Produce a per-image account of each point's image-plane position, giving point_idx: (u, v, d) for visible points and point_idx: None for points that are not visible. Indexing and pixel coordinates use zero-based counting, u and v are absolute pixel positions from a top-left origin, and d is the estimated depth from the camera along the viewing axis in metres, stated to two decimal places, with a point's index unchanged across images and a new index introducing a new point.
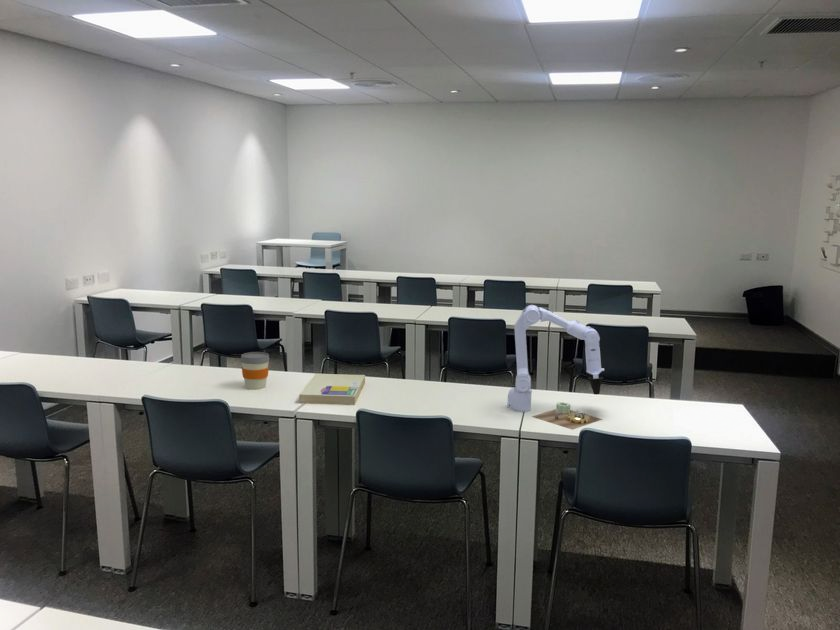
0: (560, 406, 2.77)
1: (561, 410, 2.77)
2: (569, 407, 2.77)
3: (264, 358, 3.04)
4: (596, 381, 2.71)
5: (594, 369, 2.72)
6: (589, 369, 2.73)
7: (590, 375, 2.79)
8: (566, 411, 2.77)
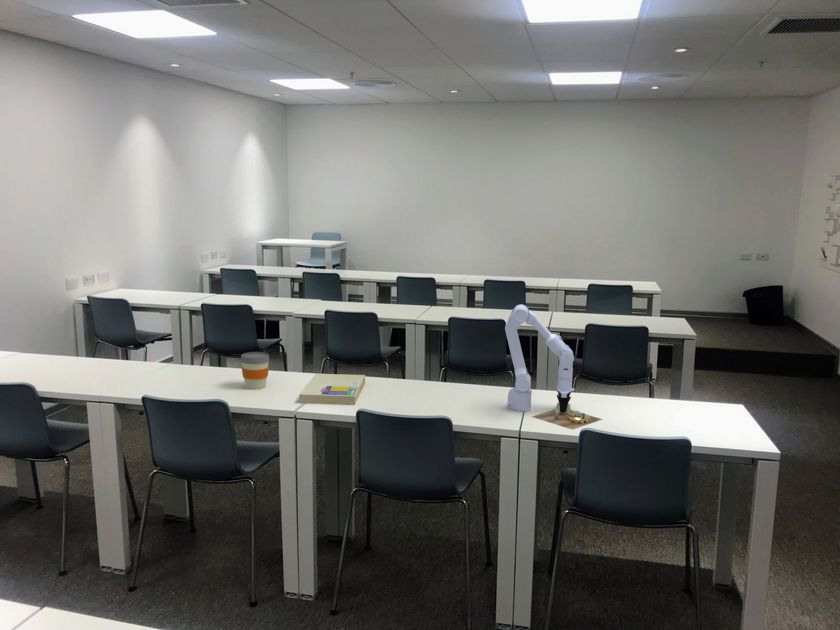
0: None
1: None
2: (569, 407, 2.77)
3: (264, 358, 3.04)
4: (564, 400, 2.74)
5: (564, 388, 2.74)
6: (559, 387, 2.76)
7: (560, 394, 2.81)
8: (566, 411, 2.77)
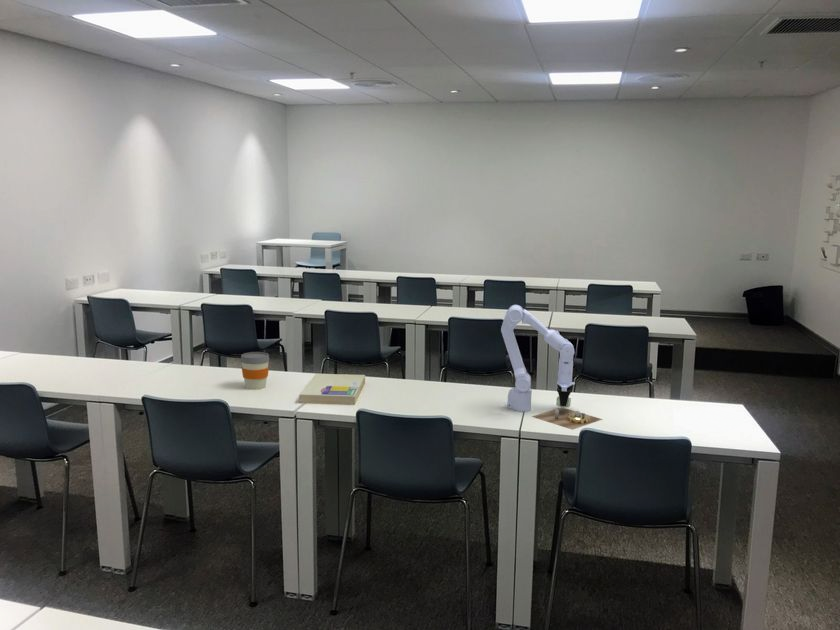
0: None
1: None
2: (569, 401, 2.76)
3: (264, 358, 3.04)
4: (564, 393, 2.74)
5: (564, 382, 2.74)
6: (559, 381, 2.75)
7: (560, 387, 2.81)
8: (566, 405, 2.76)
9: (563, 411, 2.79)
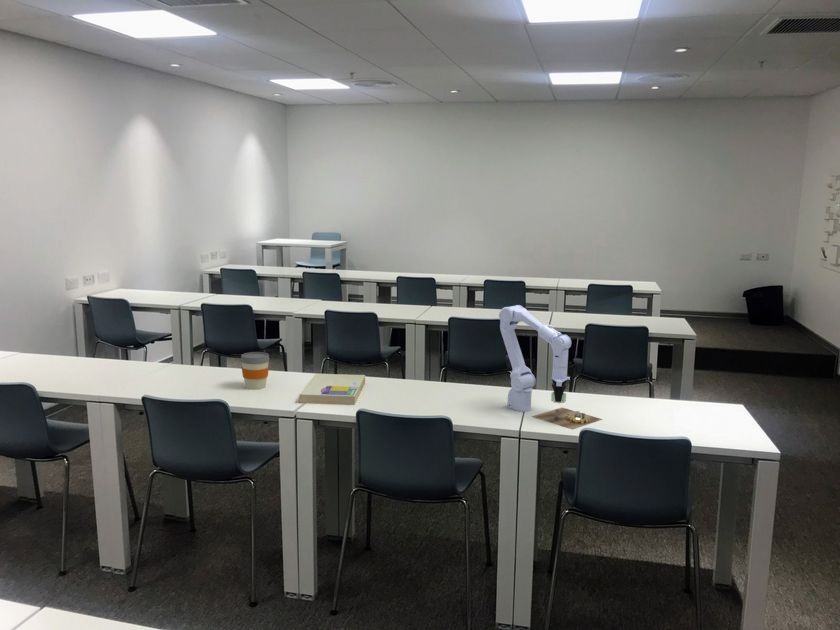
0: None
1: None
2: (565, 396, 2.67)
3: (264, 358, 3.04)
4: (559, 388, 2.65)
5: (559, 376, 2.65)
6: (554, 376, 2.66)
7: (555, 382, 2.71)
8: (561, 400, 2.67)
9: (563, 411, 2.79)
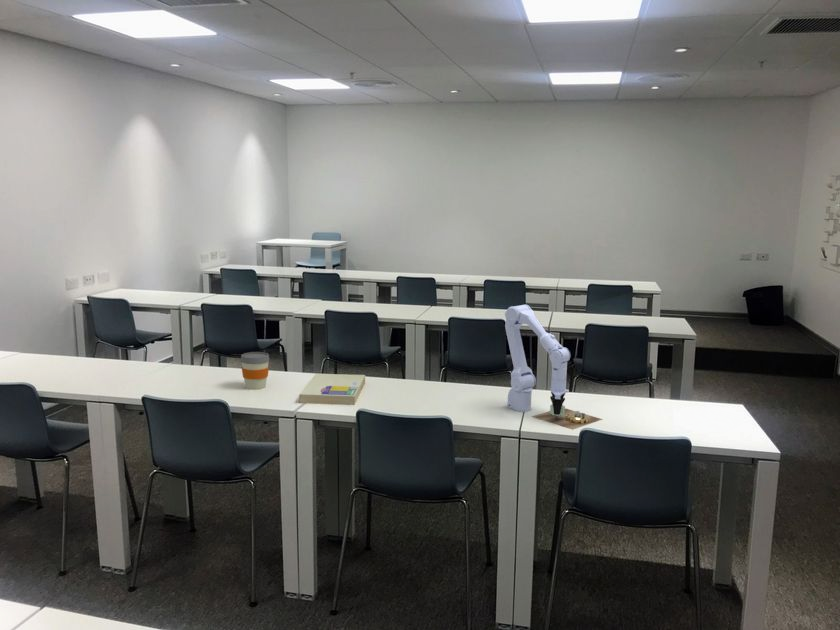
0: None
1: None
2: (563, 409, 2.67)
3: (264, 358, 3.04)
4: (558, 401, 2.65)
5: (558, 389, 2.65)
6: (553, 388, 2.66)
7: (554, 395, 2.72)
8: (560, 413, 2.67)
9: None
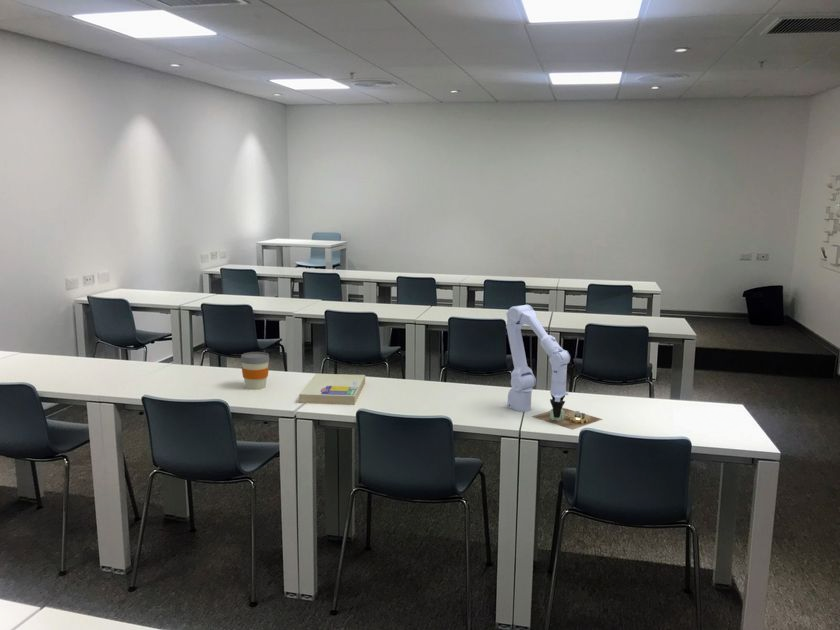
0: None
1: None
2: (563, 414, 2.68)
3: (264, 358, 3.04)
4: (558, 404, 2.64)
5: (558, 392, 2.65)
6: (553, 391, 2.66)
7: (554, 397, 2.72)
8: (560, 418, 2.67)
9: None
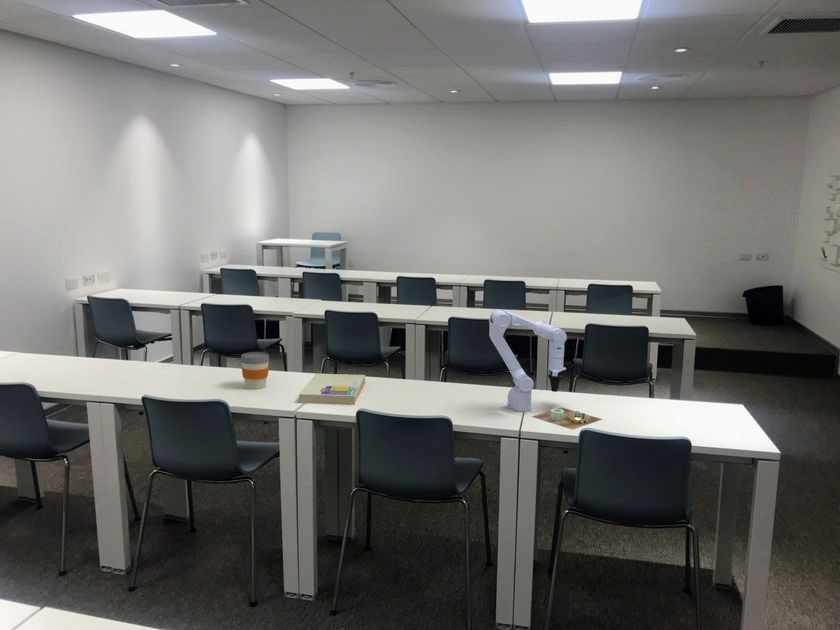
0: (554, 413, 2.67)
1: (555, 417, 2.67)
2: (563, 414, 2.68)
3: (264, 358, 3.04)
4: (555, 379, 2.77)
5: (555, 367, 2.78)
6: (551, 366, 2.79)
7: (552, 372, 2.85)
8: (560, 418, 2.67)
9: None
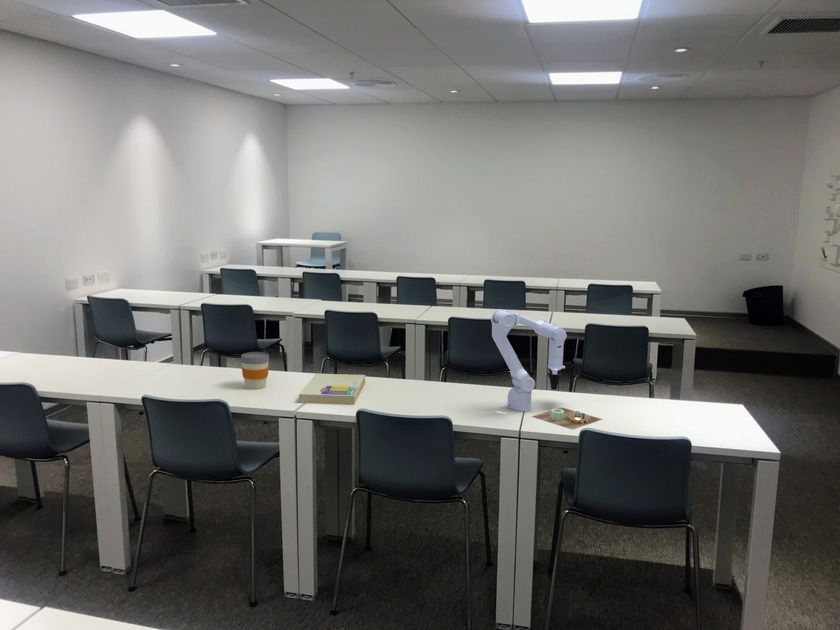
0: (554, 413, 2.67)
1: (555, 417, 2.67)
2: (563, 414, 2.68)
3: (264, 358, 3.04)
4: (555, 377, 2.79)
5: (555, 365, 2.80)
6: (550, 365, 2.81)
7: (551, 371, 2.87)
8: (560, 418, 2.67)
9: None
